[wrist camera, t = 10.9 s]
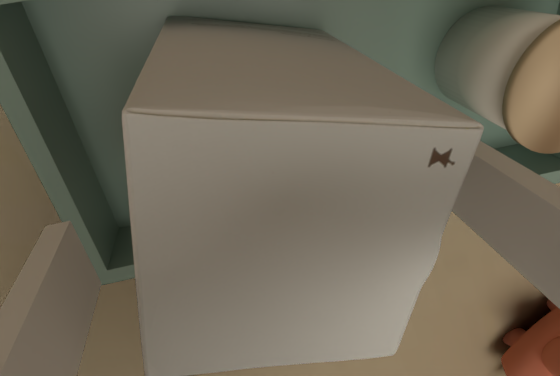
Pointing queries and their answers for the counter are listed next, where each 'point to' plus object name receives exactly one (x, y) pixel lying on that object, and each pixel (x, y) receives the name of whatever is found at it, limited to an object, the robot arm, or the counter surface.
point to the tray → (130, 61)
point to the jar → (486, 56)
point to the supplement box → (281, 197)
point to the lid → (536, 95)
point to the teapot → (534, 347)
